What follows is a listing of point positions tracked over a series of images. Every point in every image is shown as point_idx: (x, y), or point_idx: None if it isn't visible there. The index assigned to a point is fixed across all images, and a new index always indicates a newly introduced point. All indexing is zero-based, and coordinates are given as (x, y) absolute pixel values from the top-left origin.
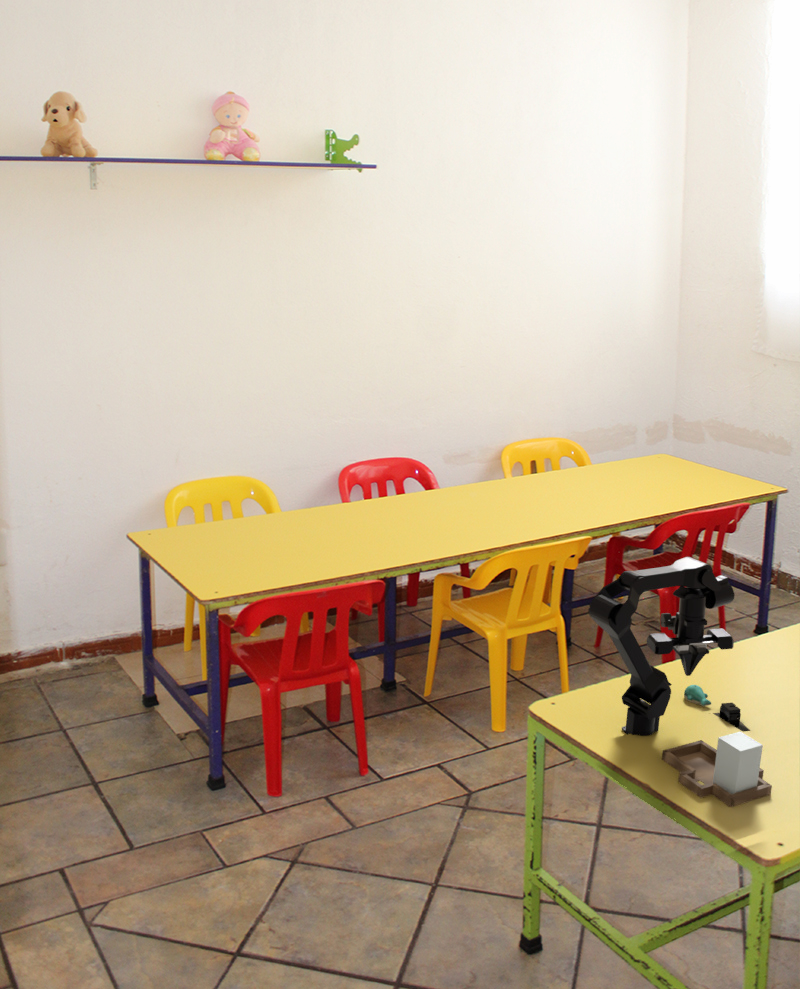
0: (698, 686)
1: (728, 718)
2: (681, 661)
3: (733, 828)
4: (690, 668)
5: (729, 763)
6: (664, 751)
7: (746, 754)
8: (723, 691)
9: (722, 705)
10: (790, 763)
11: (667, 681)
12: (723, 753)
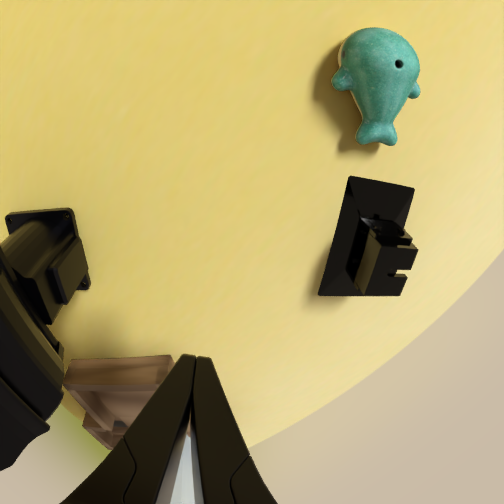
0: (410, 71)
1: (352, 278)
2: (125, 435)
3: None
4: (191, 442)
5: None
6: (65, 386)
7: None
8: (481, 76)
9: (377, 251)
10: (336, 396)
11: (26, 442)
12: None
